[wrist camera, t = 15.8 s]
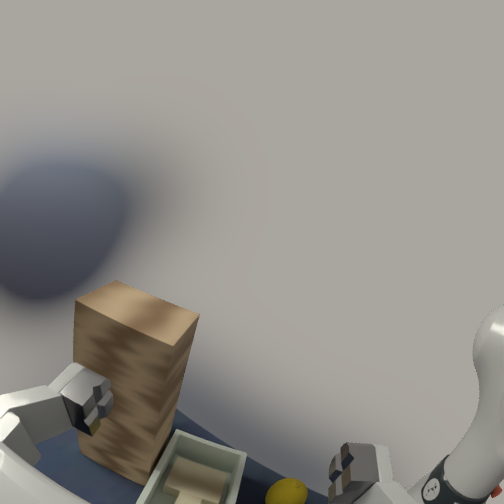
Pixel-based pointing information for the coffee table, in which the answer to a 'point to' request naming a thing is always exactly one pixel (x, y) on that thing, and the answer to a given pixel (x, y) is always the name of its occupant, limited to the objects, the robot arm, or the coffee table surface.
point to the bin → (201, 453)
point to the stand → (133, 373)
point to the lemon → (287, 492)
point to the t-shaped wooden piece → (194, 483)
